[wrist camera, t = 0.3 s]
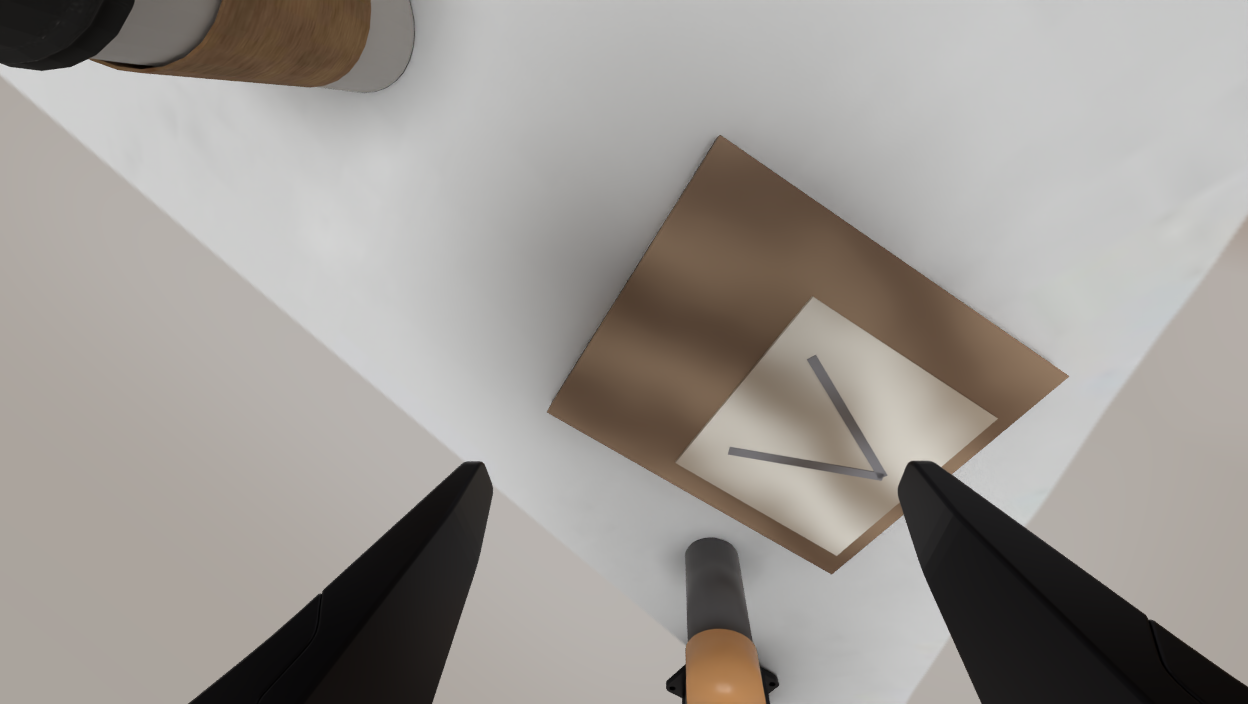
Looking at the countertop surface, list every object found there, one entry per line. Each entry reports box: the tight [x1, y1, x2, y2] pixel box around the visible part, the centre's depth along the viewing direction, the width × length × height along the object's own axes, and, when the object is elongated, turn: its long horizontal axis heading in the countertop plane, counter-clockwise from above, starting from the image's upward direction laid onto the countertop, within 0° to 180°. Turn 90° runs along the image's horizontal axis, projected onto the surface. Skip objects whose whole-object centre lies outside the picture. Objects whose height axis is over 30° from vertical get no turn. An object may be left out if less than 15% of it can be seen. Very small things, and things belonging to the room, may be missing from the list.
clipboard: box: [547, 135, 1069, 574], centre depth 24 cm, size 17×21×2 cm
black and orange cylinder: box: [685, 538, 766, 704], centre depth 26 cm, size 4×4×9 cm
